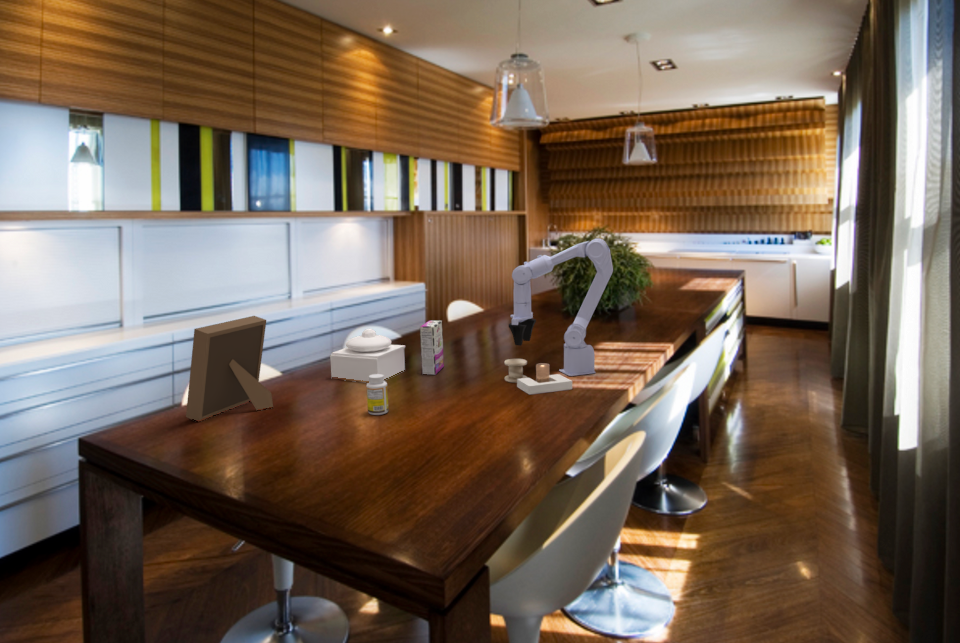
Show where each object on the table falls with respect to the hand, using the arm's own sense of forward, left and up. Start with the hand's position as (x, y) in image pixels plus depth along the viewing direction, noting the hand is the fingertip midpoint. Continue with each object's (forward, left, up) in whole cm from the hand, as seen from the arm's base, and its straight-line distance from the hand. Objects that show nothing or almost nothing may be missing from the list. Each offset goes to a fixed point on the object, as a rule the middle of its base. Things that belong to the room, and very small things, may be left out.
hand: (522, 343), depth 215 cm
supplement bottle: (+54, +26, -10) cm, 60 cm away
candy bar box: (+28, -12, -10) cm, 32 cm away
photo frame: (+89, +9, -10) cm, 90 cm away
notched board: (+3, +22, -10) cm, 24 cm away
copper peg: (+3, +21, -10) cm, 23 cm away
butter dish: (+48, -17, -10) cm, 52 cm away
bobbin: (+7, +10, -10) cm, 15 cm away
